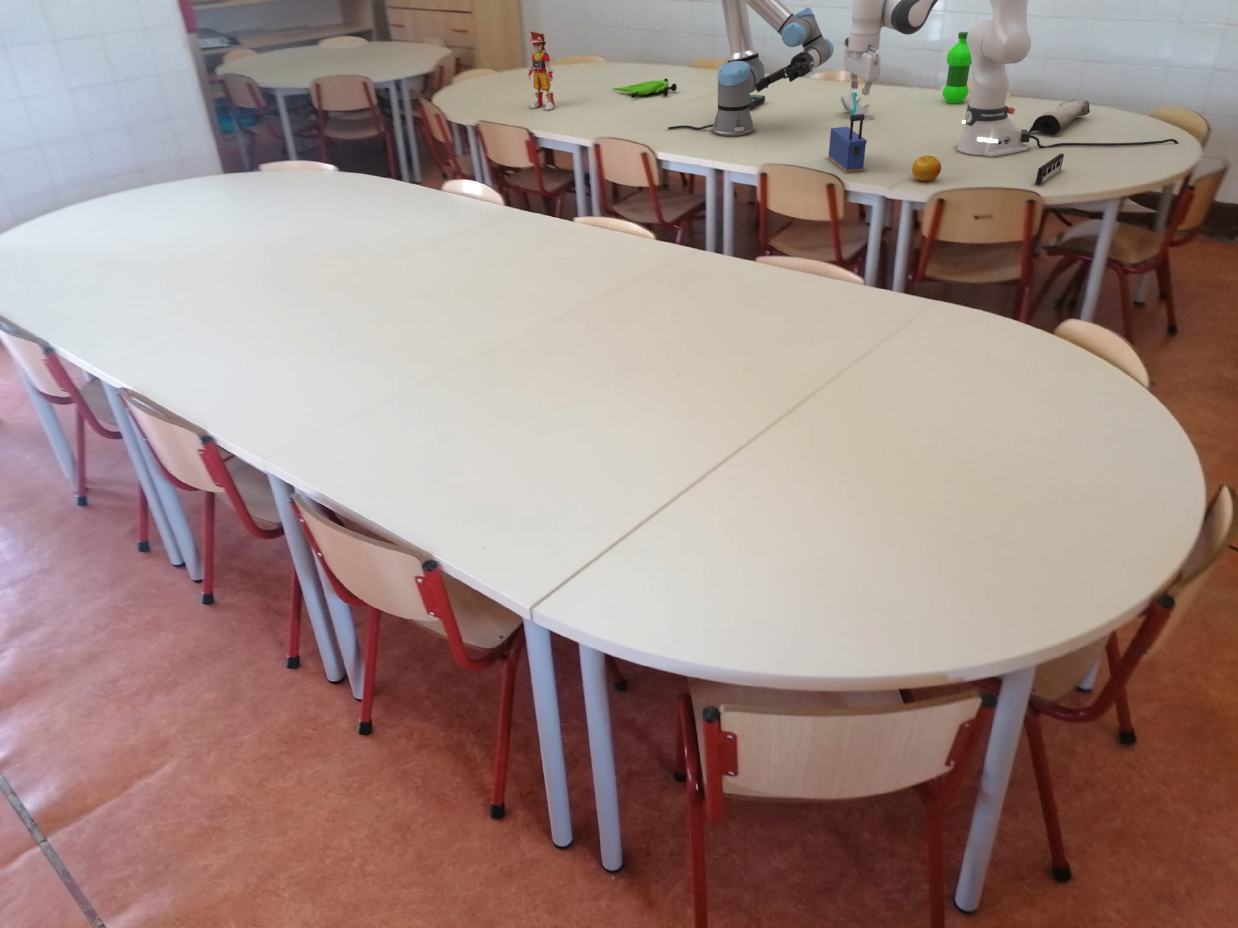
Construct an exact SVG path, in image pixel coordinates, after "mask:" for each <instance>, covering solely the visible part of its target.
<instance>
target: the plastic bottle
mask: <svg viewBox="0 0 1238 928" xmlns="http://www.w3.org/2000/svg"><path fill="white" fill-rule="evenodd" d="M968 32H969V31H959V32H958V36H957V39H958V42H957V43H956V44H954V45H953V46H952V47H951V48H950V49H949V50H948V52H947V54H946V63H947V64H948V69H947V70H948V71H947V76H946V77H947V78H946V84H945V85H944V87H943V90H942V97H943V99H944V100H945V101H946V102H947V103H948V104H960V103H961V102H963V101H964V100H966V98H967V96H968V95H969V85H968V79H969V73H970V67H971V66H972V60H971V53H970V50H969V48H968V46H967V41H966V39H967V34H968Z"/></svg>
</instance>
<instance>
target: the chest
mask: <svg viewBox="0 0 1238 928" xmlns="http://www.w3.org/2000/svg"><path fill="white" fill-rule="evenodd" d="M829 135H830V136H829V148H828V159H829V161H831V162H832V163H834V164H835V165H836V166H837V167H838V168H839V169H841V170H842V171H843V172H844V173H847V174H850V173H857V172H858V173H860V172H864V166H865V157H866V155H865V154H866V145H867V143H866V144H859V145H848V144H847V143H846V142H844V141H843V140H842V139H840V138H839V137H838V136H836V135H835V134H833V133H832V132H831V131H830V134H829Z"/></svg>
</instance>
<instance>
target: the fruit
mask: <svg viewBox="0 0 1238 928" xmlns="http://www.w3.org/2000/svg"><path fill="white" fill-rule="evenodd" d="M941 171H942V163H941V161H940V160H939V159H938V158H936V157H935V156H933V155H923V156H920V157H918V158H917V159H915V160H914V161H913V163H912V166H911V174H912V176H913V177H914V179H916V180H917V181H921V182H931V181H934V180H935V179H936V178H937V177H938V176H939V175H940V174H941Z"/></svg>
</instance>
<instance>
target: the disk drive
mask: <svg viewBox="0 0 1238 928" xmlns="http://www.w3.org/2000/svg"><path fill="white" fill-rule="evenodd" d="M765 102H766V95H761V94H750V96H749V111H750V110H752V109H755V108H757V107H758V106H760V105H762V104H763V103H765Z"/></svg>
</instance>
